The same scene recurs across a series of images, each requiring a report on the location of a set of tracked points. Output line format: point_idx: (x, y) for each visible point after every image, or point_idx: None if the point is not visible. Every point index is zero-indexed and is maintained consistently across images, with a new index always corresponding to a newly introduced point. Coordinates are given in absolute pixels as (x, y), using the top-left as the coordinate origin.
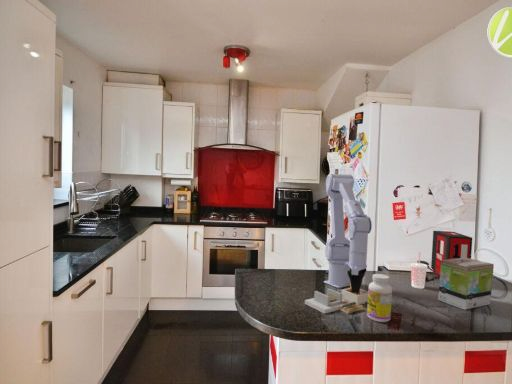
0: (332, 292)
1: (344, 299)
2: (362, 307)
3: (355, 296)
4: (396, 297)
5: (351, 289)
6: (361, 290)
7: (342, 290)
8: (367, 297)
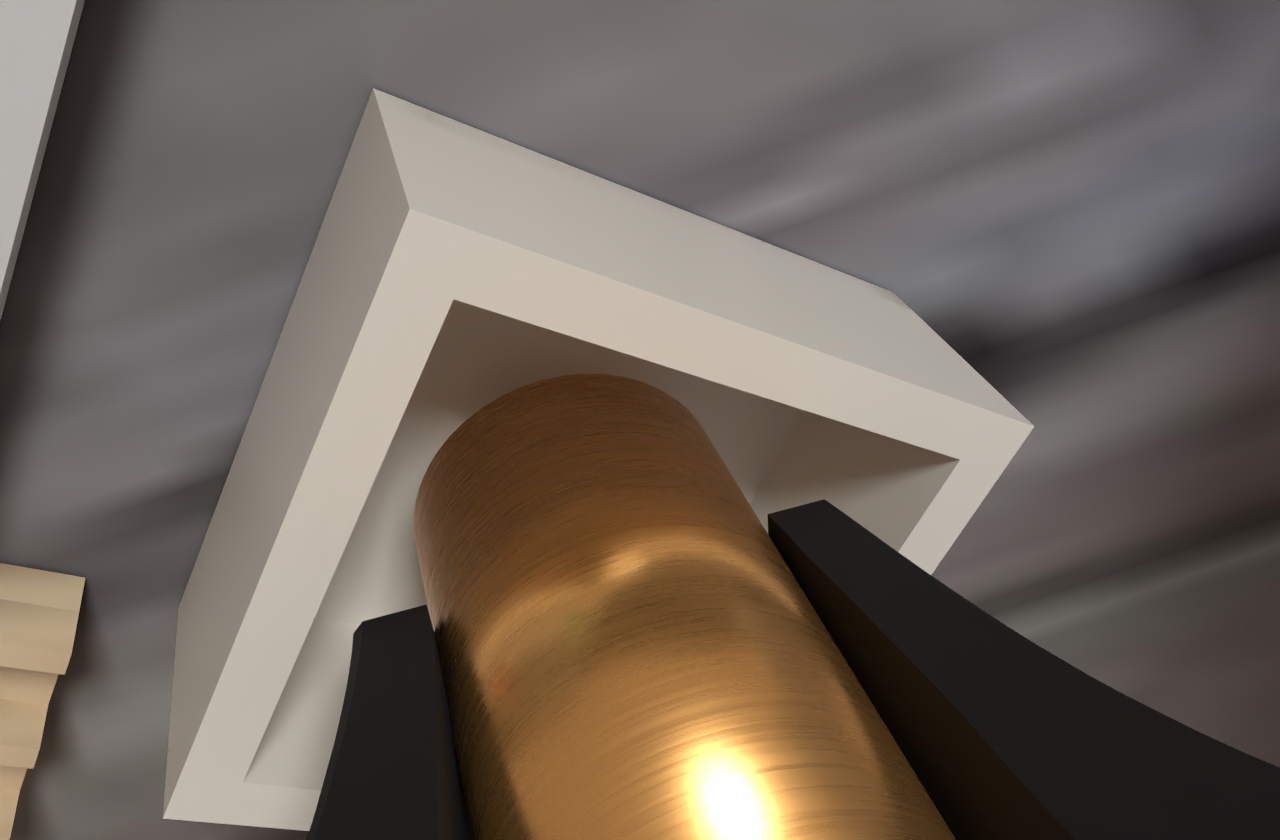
0: None
1: (322, 228)
2: (8, 811)
3: (190, 725)
4: None
5: (463, 600)
6: None
7: (385, 246)
8: None
